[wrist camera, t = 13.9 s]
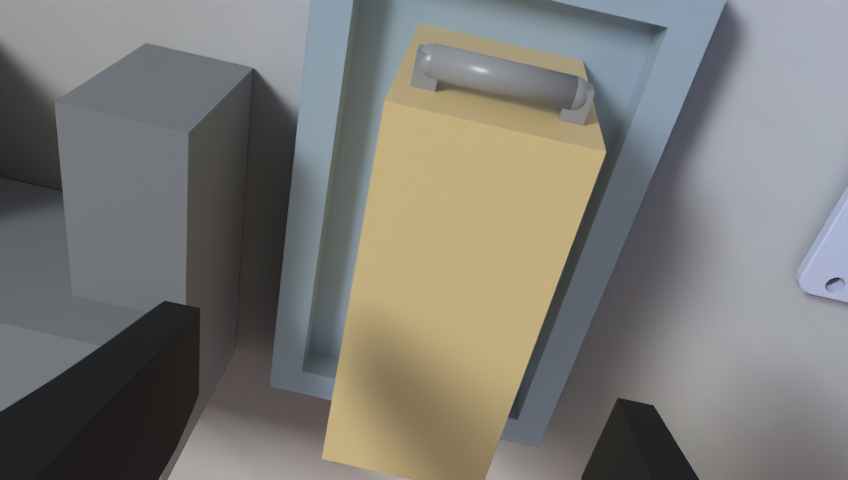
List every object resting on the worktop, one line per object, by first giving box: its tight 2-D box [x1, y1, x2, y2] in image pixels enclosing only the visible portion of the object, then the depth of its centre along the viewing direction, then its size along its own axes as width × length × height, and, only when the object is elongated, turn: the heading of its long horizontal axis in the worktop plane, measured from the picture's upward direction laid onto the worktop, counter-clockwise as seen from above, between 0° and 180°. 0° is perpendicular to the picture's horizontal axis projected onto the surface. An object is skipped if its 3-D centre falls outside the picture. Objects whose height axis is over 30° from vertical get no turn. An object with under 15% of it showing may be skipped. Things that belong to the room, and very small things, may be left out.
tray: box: [269, 0, 726, 447], centre depth 20 cm, size 9×15×2 cm, turn 169°
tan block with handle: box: [322, 23, 606, 480], centre depth 18 cm, size 4×11×6 cm, turn 169°
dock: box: [0, 44, 253, 480], centre depth 19 cm, size 11×10×6 cm
